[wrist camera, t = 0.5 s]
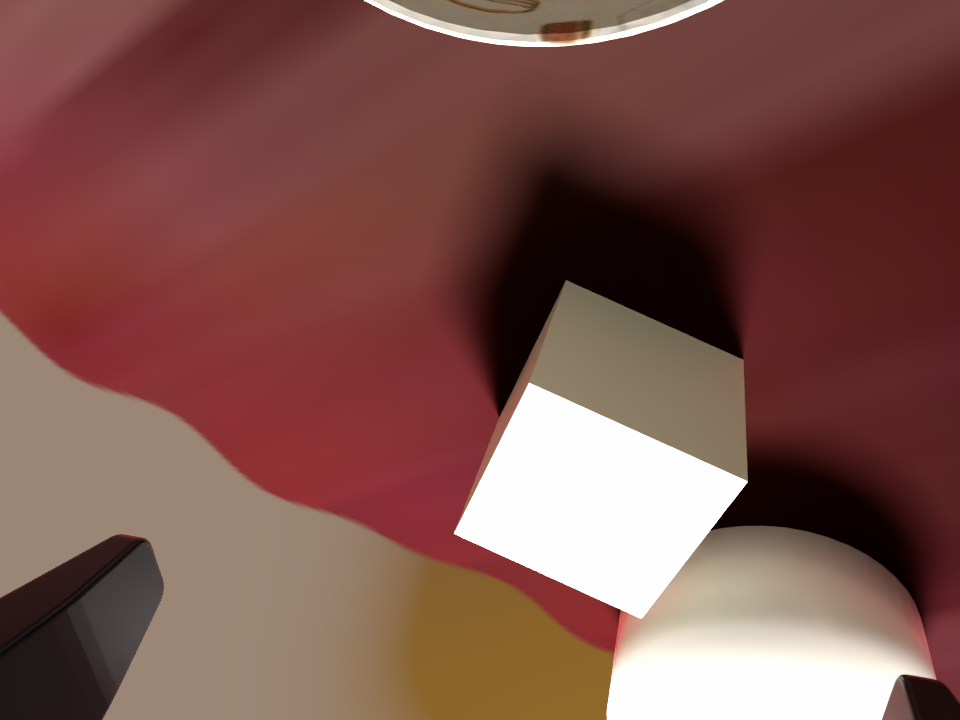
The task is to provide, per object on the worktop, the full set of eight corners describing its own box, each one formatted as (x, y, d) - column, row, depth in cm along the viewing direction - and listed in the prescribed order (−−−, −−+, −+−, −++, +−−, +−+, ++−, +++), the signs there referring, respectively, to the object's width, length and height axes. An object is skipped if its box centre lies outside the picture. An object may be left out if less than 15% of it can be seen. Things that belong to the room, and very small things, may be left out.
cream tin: (991, 605, 24) (1034, 730, 20) (813, 756, 29) (825, 874, 25) (703, 475, 24) (700, 578, 20) (578, 648, 29) (558, 752, 26)
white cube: (743, 358, 21) (747, 481, 17) (655, 486, 24) (641, 618, 20) (566, 278, 21) (529, 382, 17) (499, 416, 24) (454, 533, 20)
